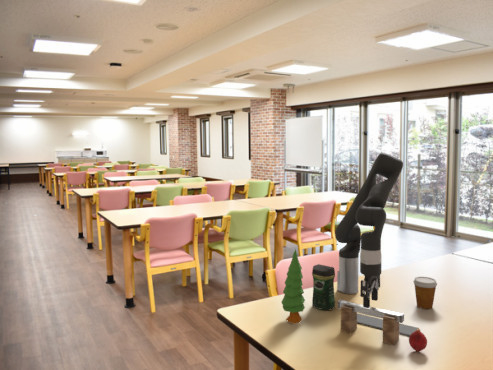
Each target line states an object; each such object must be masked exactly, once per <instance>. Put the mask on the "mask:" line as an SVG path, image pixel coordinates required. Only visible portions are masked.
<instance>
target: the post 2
mask: <svg viewBox="0 0 493 370" xmlns="http://www.w3.org/2000/svg"><path fill="white" fill-rule="evenodd" d="M382 319H383V330H382V343H384V344H387V345H388V344H389V345H392V346H395V345H396V343H397V342H398V341H399V339H400V334H399V323H400V322H396V318H395V317H391V316H386V315H384V316H383V318H382Z"/></svg>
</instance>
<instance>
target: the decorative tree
mask: <svg viewBox="0 0 493 370" xmlns="http://www.w3.org/2000/svg"><path fill="white" fill-rule="evenodd" d="M294 249H295V250H294V252H293V255H292V256H291V257H292V258H291V260H290V264H289V266H288V271H287V272H286V275H287V276H286V278H285V282H284V285H285V287H284V289H283V291H282V293H283V298H282V300H281V304H282V309H283V311H285V312H288V313H289V315H288V316H287V318H286V321H287V320H288V322H292V323H291V324H293V323H294V324H300V323H301V322H302V321H303V318H302V317H301V315H300V313H301V312H304V310H305V308H306V307H305V305H304V303H305V301H306V300H305V298H304V296H303V295H304V294H305V292H304V289H303V287H302V286H304V284H303V281H302V279H303V277H304V276H303V272H302V269H303V268H302V265H301V264H300V261H299V258H298V254H297V250H296V248H294ZM301 320H302V321H301ZM300 321H301V322H300ZM288 322H287V323H288ZM299 322H300V323H299Z"/></svg>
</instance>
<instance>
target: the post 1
mask: <svg viewBox="0 0 493 370" xmlns="http://www.w3.org/2000/svg"><path fill="white" fill-rule="evenodd" d="M357 328H358V323H357V312H353V311H352V308H351V307H347V306H343V305H342V306H341V309H340V332H344V333H347V334H352V333H353V332H354V331H355V330H356V329H357Z"/></svg>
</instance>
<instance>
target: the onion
mask: <svg viewBox="0 0 493 370" xmlns="http://www.w3.org/2000/svg"><path fill="white" fill-rule="evenodd" d="M408 337H409V338H408V344H409V346H410V347H411V349H412V350H413V351H414V352H417V353H419V352H421V351H423V350H425V349H426V348H427V346H428V340H427V337H426V335H425V334H424V333H423V332H421V329H420V328H419V329H417V330H416V331H415V332H413V333H412V334H411V335H410V336H408Z"/></svg>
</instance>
